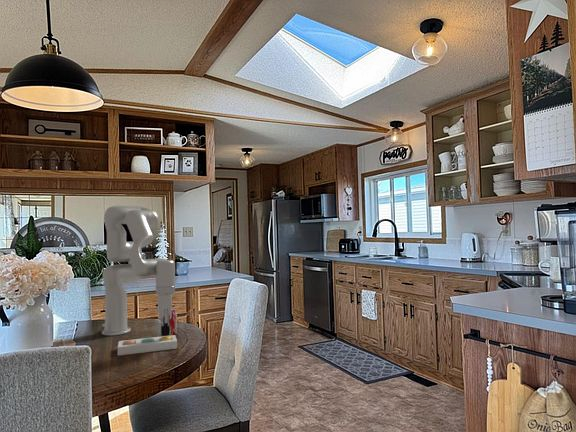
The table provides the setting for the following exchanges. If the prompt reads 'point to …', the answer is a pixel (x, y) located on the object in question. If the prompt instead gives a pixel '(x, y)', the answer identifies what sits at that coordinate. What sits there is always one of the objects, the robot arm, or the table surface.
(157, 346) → the button box
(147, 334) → the table surface
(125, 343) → the terracotta button
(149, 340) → the teal button
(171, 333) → the soda can
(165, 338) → the amber button
